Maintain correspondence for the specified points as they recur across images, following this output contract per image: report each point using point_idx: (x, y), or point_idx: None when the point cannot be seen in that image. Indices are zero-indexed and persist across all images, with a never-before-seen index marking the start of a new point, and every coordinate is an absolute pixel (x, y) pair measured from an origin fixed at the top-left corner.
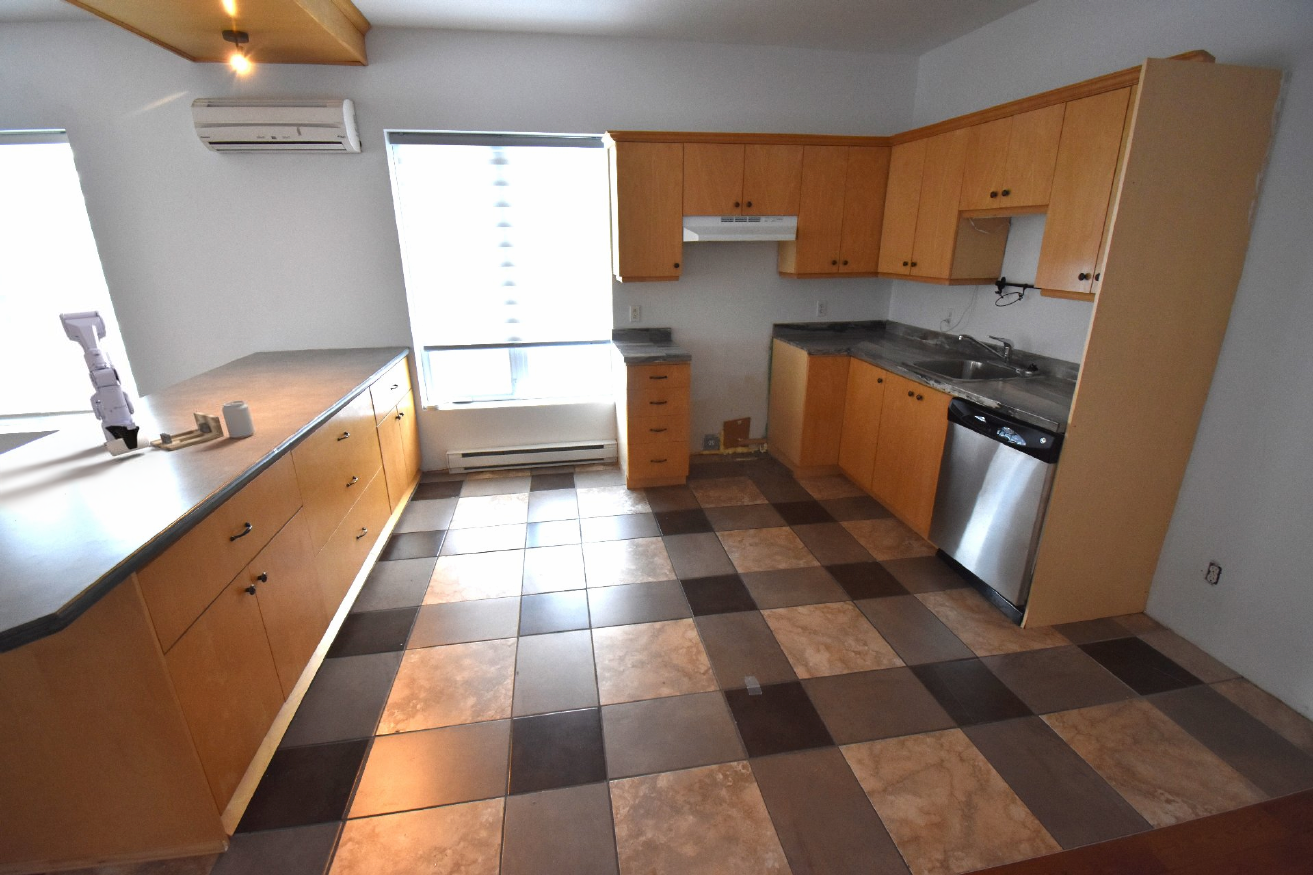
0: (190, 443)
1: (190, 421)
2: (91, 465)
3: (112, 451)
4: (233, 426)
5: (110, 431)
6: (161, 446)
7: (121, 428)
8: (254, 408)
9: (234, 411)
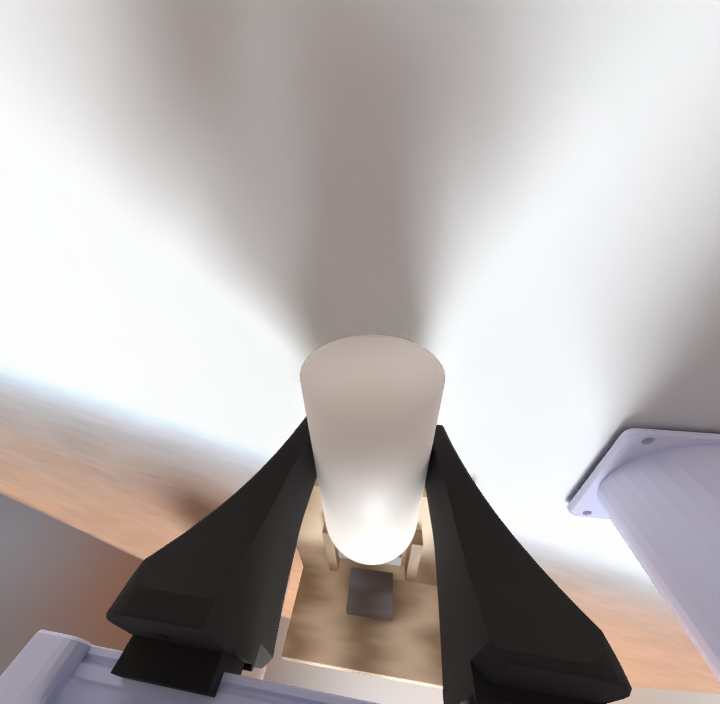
0: None
1: (598, 615)
2: (434, 186)
3: (356, 355)
4: None
5: (474, 584)
6: None
7: (230, 651)
8: None
9: None
